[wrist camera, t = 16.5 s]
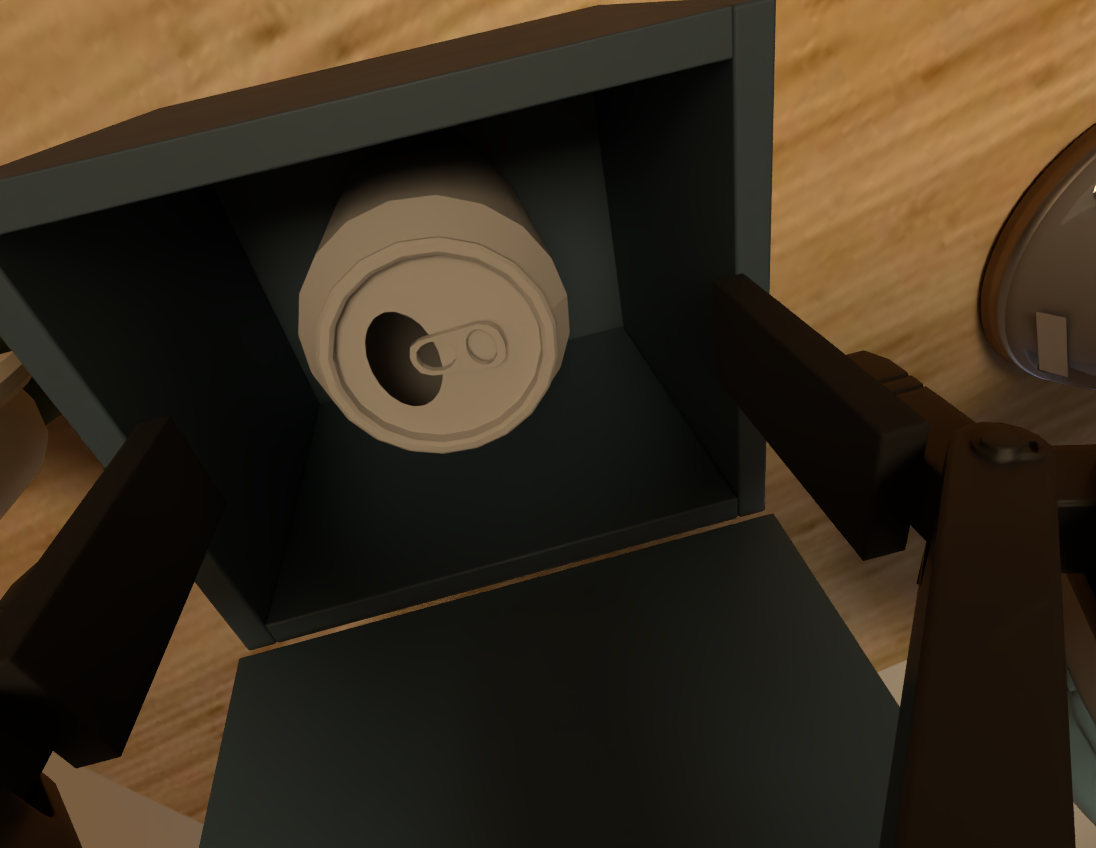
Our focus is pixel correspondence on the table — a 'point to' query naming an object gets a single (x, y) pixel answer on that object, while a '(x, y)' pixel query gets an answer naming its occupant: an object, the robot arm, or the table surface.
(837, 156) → the table surface
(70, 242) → the bin
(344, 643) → the bin lid
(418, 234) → the can
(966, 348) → the table surface
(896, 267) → the table surface
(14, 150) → the table surface
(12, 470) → the character mug
